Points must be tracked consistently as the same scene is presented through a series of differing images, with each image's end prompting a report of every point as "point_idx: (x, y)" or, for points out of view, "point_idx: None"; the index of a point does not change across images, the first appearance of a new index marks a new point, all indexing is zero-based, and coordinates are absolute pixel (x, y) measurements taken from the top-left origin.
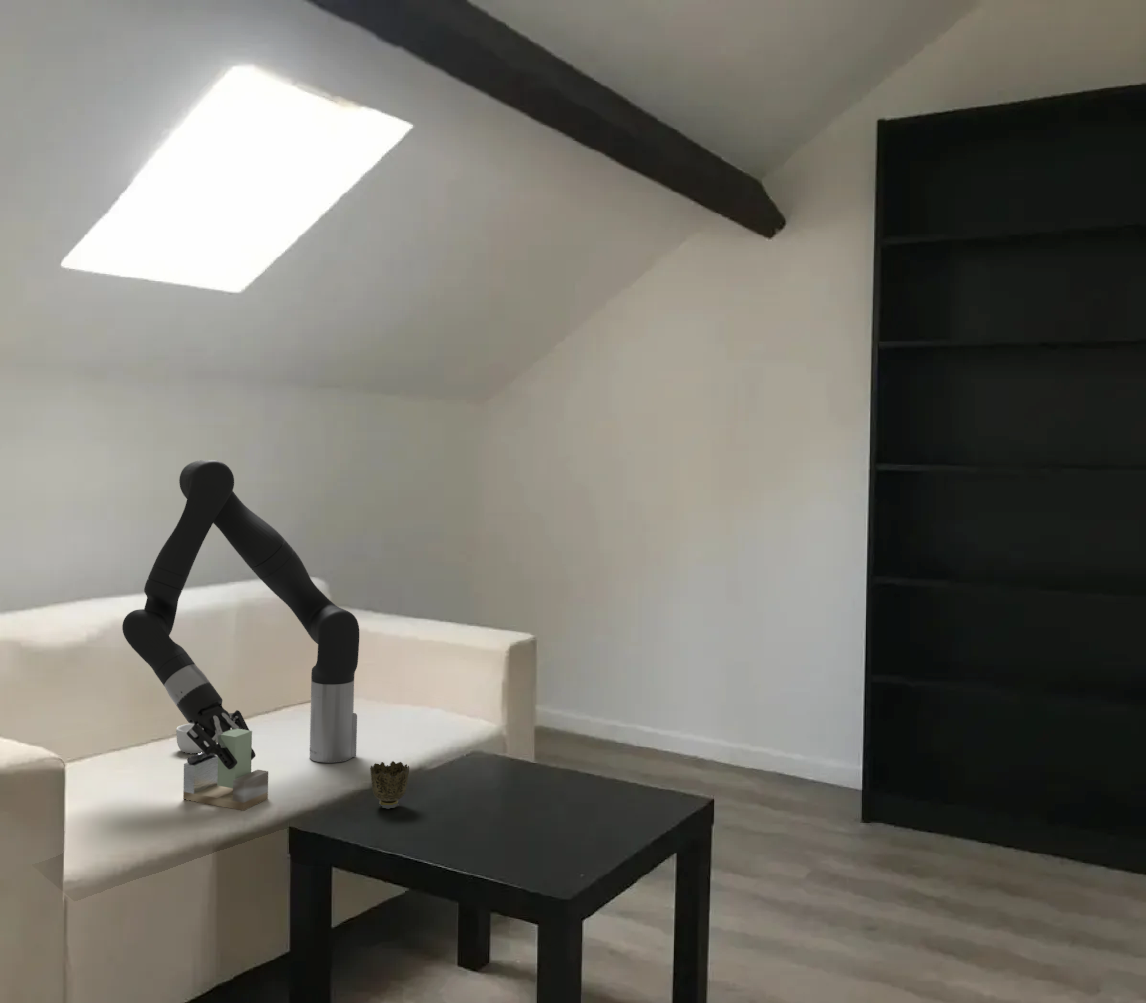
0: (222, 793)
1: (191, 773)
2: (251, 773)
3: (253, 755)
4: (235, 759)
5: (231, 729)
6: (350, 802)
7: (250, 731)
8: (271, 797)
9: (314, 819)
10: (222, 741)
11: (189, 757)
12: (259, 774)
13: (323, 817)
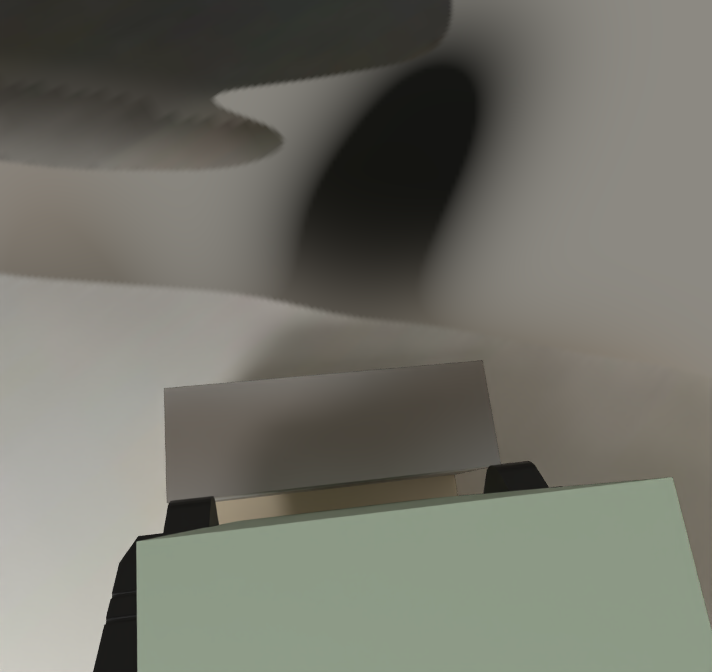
0: None
1: None
2: (288, 463)
3: (209, 496)
4: (512, 483)
5: None
6: (27, 36)
7: (188, 538)
8: (158, 429)
9: (328, 48)
10: None
11: None
12: (273, 390)
13: (284, 30)
